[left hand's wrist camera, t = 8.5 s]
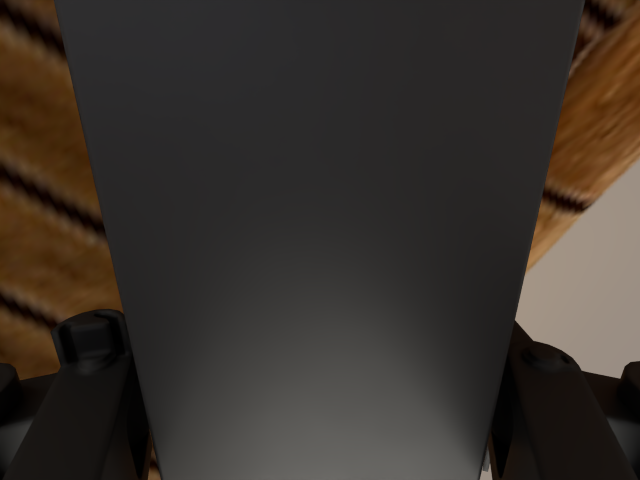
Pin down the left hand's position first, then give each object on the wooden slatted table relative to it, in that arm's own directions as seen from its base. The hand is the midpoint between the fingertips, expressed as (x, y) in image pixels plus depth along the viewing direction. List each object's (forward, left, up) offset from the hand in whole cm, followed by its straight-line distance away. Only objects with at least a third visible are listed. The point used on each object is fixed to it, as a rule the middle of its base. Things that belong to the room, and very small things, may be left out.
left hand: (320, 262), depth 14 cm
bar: (-5, +8, -1) cm, 10 cm away
